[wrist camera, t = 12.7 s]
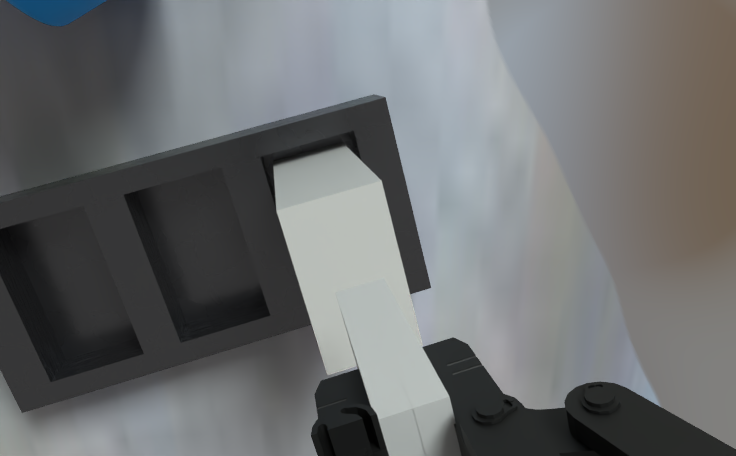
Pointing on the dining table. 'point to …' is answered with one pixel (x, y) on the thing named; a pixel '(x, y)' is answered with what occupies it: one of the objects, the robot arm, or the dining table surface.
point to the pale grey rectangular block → (337, 240)
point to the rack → (170, 255)
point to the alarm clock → (55, 9)
